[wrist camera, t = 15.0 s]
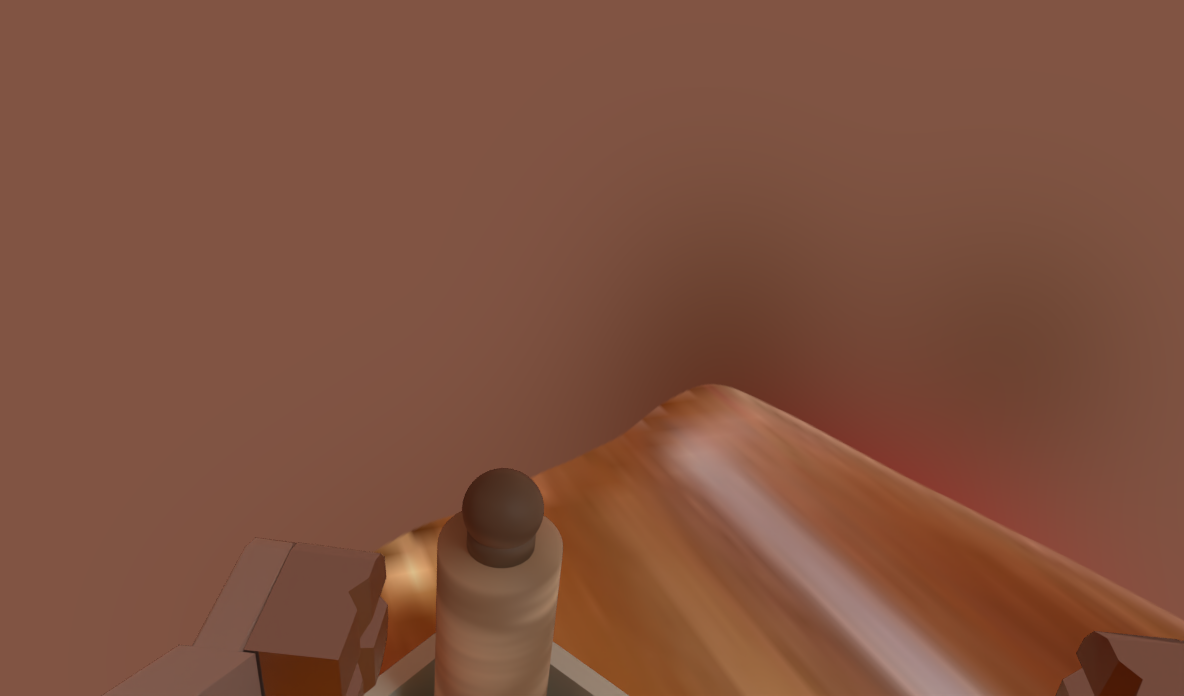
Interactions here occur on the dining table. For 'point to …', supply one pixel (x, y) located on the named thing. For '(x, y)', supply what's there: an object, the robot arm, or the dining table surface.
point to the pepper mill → (497, 591)
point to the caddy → (412, 678)
